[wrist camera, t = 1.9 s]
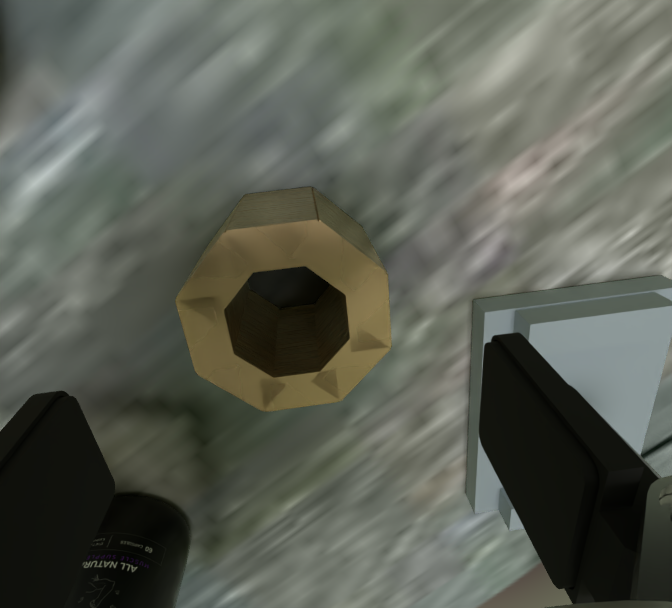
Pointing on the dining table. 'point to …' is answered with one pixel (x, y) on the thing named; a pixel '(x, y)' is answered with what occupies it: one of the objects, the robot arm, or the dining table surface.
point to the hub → (292, 322)
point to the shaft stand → (577, 360)
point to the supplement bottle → (134, 557)
